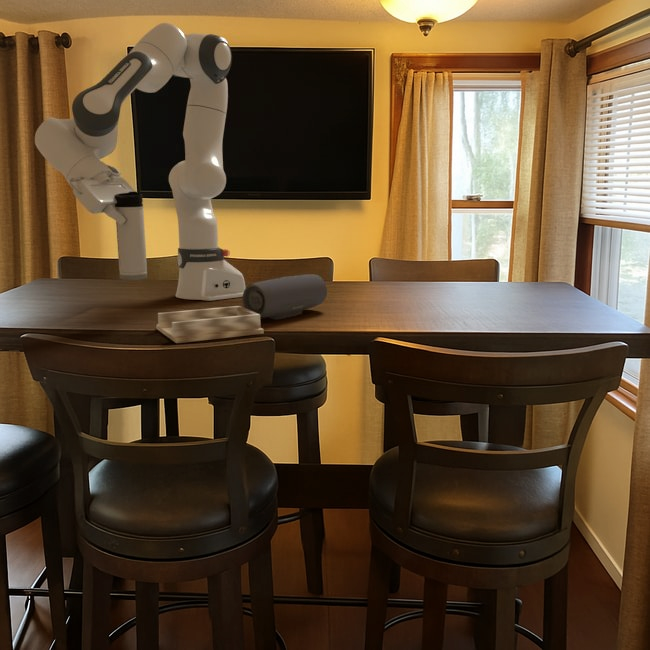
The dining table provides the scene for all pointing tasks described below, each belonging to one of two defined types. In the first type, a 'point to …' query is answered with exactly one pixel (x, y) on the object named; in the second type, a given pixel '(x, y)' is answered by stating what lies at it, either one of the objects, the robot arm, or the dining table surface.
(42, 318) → the dining table surface
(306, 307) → the bluetooth speaker
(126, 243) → the travel mug
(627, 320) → the dining table surface
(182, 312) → the tray
